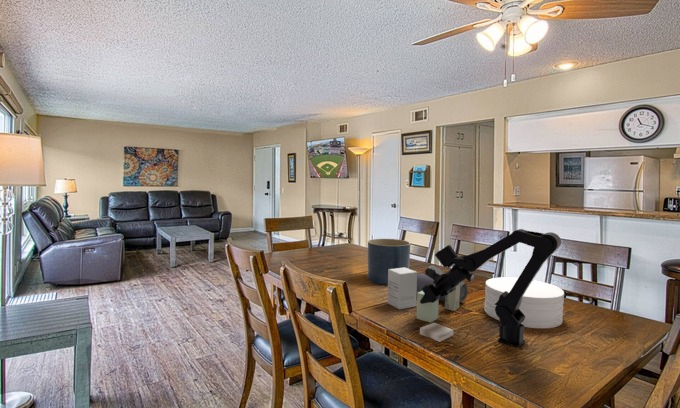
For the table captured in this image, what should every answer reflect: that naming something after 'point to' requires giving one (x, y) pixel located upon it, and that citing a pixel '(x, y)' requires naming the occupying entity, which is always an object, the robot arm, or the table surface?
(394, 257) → the planter
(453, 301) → the box
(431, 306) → the green block
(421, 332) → the base block
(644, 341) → the table surface
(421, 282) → the bluetooth speaker
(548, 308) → the plate stack
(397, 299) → the supplement box
